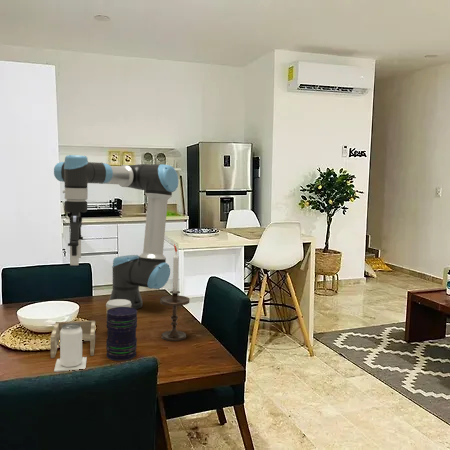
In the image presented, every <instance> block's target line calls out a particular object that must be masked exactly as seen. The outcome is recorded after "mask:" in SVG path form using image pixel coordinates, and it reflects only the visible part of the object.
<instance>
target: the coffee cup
mask: <svg viewBox="0 0 450 450" xmlns="http://www.w3.org/2000/svg"><path fill="white" fill-rule="evenodd" d="M131 305H132V304H131V302H130V301H129V300H125V299H114V300H110V301H109V300H108V301H107V302H106V303H105V308H106V313H107V310H109V309H111V308H115V307H131Z"/></svg>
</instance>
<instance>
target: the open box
mask: <svg viewBox="0 0 450 450" xmlns="http://www.w3.org/2000/svg"><path fill="white" fill-rule="evenodd" d="M69 323H77V324H80V325H81V329H82V339H83V340H84V341H83V342H89V344H90V346H89V347H90V348H89V353H90V354H89V356H95V345H96V320H77V321H75V320H73V321H72V320H71V321H55V323H54V326H53V329H52V331H51V334H50V359H56V354H57V351H58V348H57V345H58V346H59V344H58V342H59V340H60V331H61V329H62V326H63V325H65V324H69ZM59 343H60V342H59Z"/></svg>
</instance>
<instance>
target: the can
mask: <svg viewBox="0 0 450 450" xmlns="http://www.w3.org/2000/svg"><path fill="white" fill-rule="evenodd" d="M59 346H60V347H59V348H60V349H59V353H60V354H59V357H60V358H59V359H60V364H61V365H62V366H64V367H75V366H78V365H80V364H81V363H82V357H83V341H82V329H81V325H80V324H77V323H69V324H65V325H63V326H62V329H61V331H60V342H59Z"/></svg>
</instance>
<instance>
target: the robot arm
mask: <svg viewBox="0 0 450 450" xmlns="http://www.w3.org/2000/svg"><path fill="white" fill-rule="evenodd" d="M88 160H89V159H88V157H87V156H86V155H78V154H68V155H65V157H64V161H59V162H58V163H56V164H55V166H54V168H53V175H54V178H55V179H56V180H57V181H58V182H62V183H64V190H62V194H64V199H65V201H64V202H63V203H64V204H63V205H64V206H63V207H64V209H63V210H64V212H66V213H71V215H70V217H69V229H70V231H69V232H70V234H69V235H70V237H69V243H67V247H69V265H70V266H79V264H80V261H79V260H80V259H81V258H82V240H84V236H82V227H83V226H82V222H83V216H82V213H86V212H87V211H88V202H87V200H88V195H89V194H88V184H102V185H103V184H104V185H119V186H120V187H122V188H131V189H135V190H141V191H144V195H145V196H146V197H147V205H146V217H145V230H144V238H143V239H144V240H143V251H142V253H141V254H140V255H138V254H131V255H121V256H117V257H116V256H115V257H114V258H113V260H112V266H111V267H112V290H111V293H110V296H109V299H108V301H110V300H114V299H125V300H129V301H130V302H131V304H132V305H131V308H135V309H136V310H138V309H140V308H142V307H143V299H142V295H141V292H140V287H143V288H147V289H157V290H159V289H162V288H164V286H165V285H166V284H167V283H168V281H169V279H170V277H171V276H170V275H171V267H170V265H169V264H168V263H167V262H166V261H167V258H166V256H165V255H164V254H163V253H164V246H165V245H164V243H165V235H166V233H165V232H166V224H167V223H166V222H167V213H168V202H169V201H168V200H169V199H171V197H172V194H173V192H175V191H177V188H178V187H179V186H178V185H179V176H178V173H177V171H176V169H175V167H173V166H172V165H170V164H165V163H163V164H161V163H160V164H159V163H158V164H157V163H155V164H154V163H153V164H152V163H148V164H147V163H138V164H129V165H128V164H122V165H120V166H115V165H114V166H113V165H110V164H108V163H107V162H106V163H105V162H91V161H90V162H89V161H88Z"/></svg>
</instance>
